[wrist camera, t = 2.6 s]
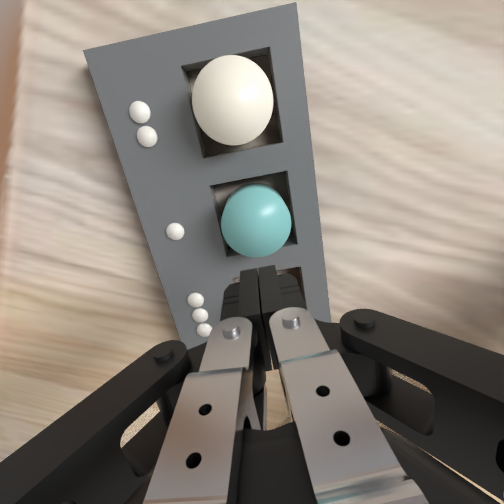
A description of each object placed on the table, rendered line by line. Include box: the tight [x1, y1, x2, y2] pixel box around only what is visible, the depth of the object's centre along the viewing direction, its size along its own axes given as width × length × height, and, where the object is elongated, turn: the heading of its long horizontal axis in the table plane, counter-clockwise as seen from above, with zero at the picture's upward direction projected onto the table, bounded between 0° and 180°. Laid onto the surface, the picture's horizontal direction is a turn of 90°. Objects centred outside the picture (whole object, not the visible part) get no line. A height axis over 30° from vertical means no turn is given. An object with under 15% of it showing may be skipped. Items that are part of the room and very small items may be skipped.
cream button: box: [192, 55, 273, 145], centre depth 20 cm, size 5×5×3 cm
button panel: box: [83, 2, 331, 350], centre depth 25 cm, size 14×26×2 cm, turn 11°
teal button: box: [221, 183, 291, 257], centre depth 23 cm, size 5×5×3 cm
